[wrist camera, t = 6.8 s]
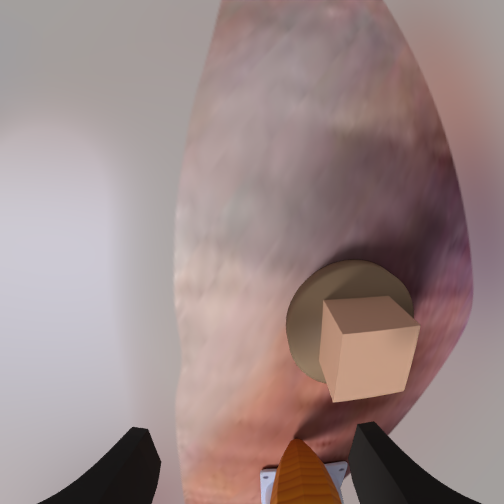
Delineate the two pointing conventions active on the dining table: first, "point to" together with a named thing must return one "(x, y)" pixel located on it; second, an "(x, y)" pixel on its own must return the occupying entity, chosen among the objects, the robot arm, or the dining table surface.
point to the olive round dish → (329, 288)
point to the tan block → (366, 347)
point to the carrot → (302, 478)
